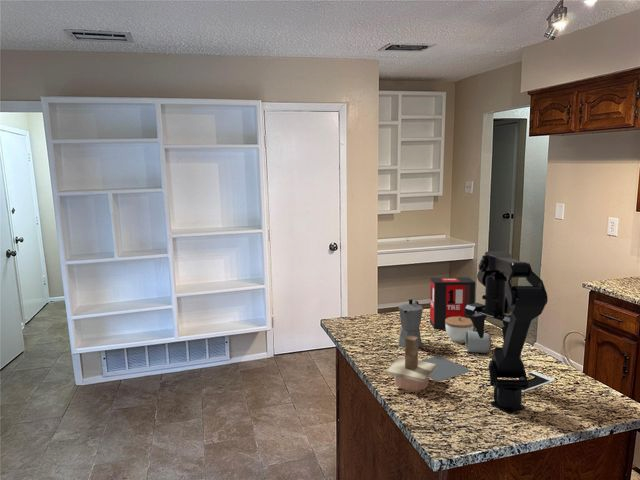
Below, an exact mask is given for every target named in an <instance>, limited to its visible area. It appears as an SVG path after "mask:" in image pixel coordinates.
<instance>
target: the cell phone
mask: <svg viewBox="0 0 640 480" xmlns="http://www.w3.org/2000/svg"><path fill="white" fill-rule="evenodd" d="M527 374H528V375H530V376H533V378H530V379H527V381H528V387H527V389H522V394H523V393H526V392H529V391H530V390H531V391H532V390H533V389H536V388H540V387H542V386H545V385H548V384H550V383H553V382H555V381H556V379H554V378H552V377H549V376H546V375H544V374H542V373H540V372H537V371H534V370H531V371H529V372H526V375H527Z"/></svg>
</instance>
